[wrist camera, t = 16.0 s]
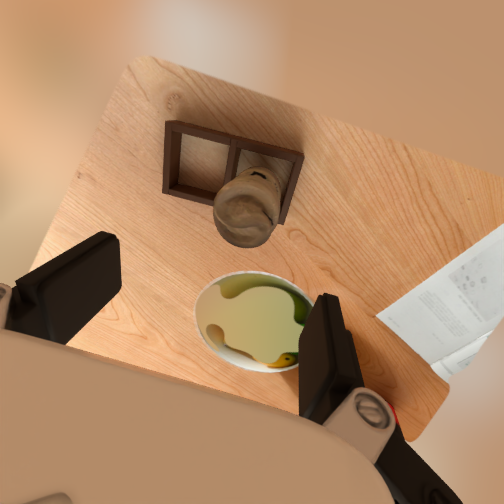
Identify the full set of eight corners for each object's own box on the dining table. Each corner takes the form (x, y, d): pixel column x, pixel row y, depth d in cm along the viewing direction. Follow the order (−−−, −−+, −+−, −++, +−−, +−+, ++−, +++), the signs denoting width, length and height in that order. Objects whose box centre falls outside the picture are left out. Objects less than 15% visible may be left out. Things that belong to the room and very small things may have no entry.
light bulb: (237, 159, 31) (196, 190, 18) (281, 151, 30) (273, 179, 17) (245, 203, 33) (214, 259, 20) (286, 198, 32) (282, 254, 19)
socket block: (303, 153, 29) (304, 156, 27) (284, 216, 34) (283, 225, 31) (176, 120, 30) (165, 120, 27) (172, 187, 34) (162, 193, 31)
